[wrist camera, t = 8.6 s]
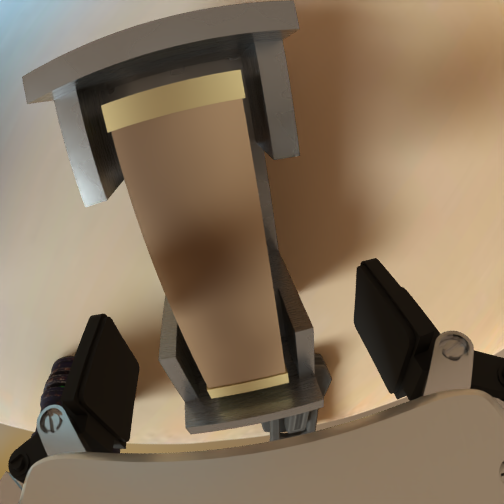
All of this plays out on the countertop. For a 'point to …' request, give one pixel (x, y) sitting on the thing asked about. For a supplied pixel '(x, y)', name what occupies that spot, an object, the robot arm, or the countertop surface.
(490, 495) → the robot arm
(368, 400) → the countertop surface
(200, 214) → the brown rectangular block
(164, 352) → the grey cradle stand
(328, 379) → the zipper pull
